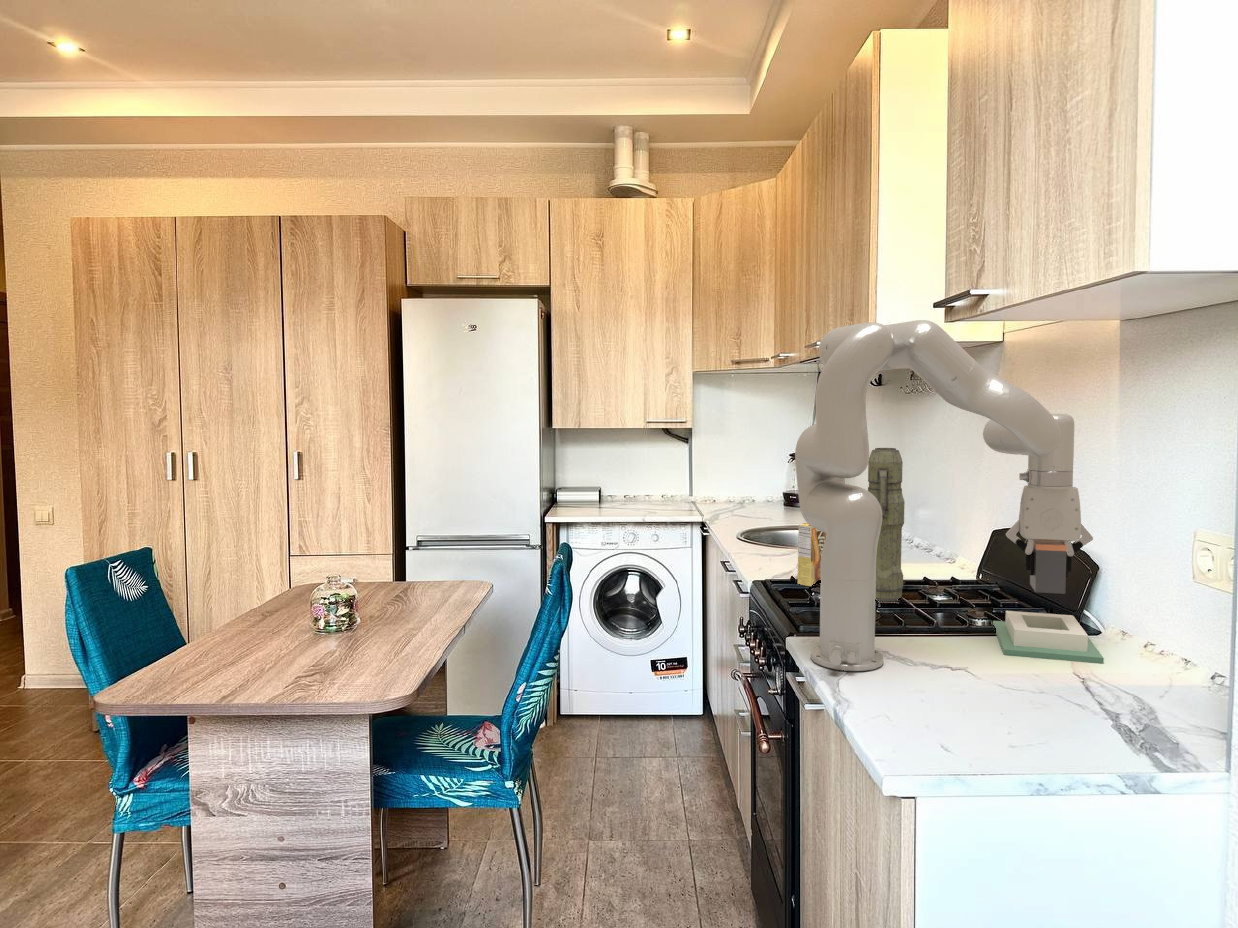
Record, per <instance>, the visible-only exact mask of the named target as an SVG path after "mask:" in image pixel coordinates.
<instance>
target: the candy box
mask: <svg viewBox="0 0 1238 928" xmlns="http://www.w3.org/2000/svg"><path fill="white" fill-rule="evenodd" d="M826 536H827V533H825V532H822V531H820V530H817V529H815V528H813V527H812V526H810V525H809V524H808V523H807V522H804V523H800V524H798V537H797V538H798V540H797V541H798V543H797V550H798V551H797V585H799V584H800V585H801V586H806V587H812V585H813V584H815V583H816V582H817V581H818V580H821V574H820V566H821V555H822V550H823V547H824V543H825V540H826ZM813 586H814V585H813Z"/></svg>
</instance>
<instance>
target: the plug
mask: <svg viewBox="0 0 1238 928" xmlns="http://www.w3.org/2000/svg"><path fill="white" fill-rule="evenodd" d="M1066 552H1067V546H1066V545H1065V544H1064V543H1063V542H1062V541H1040V540H1036V542H1035V545H1034V548H1033V554H1034V556H1035V559H1034V575H1033V576H1032V575H1030V574H1029V585H1030V586H1031V588H1032V589H1033V590H1034V592H1035V593H1045V594H1046V593H1047V594H1062V595H1063V594H1065V595H1066V580H1067V577H1066Z"/></svg>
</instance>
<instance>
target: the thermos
mask: <svg viewBox="0 0 1238 928" xmlns="http://www.w3.org/2000/svg"><path fill="white" fill-rule="evenodd" d="M901 455H902V454H901V453H900V450H898V449H897V448H895V447H875V448H874V449H872V450H871V452H870V454H869V463H868V465H867V467H868V469H867V470H868V471H867V474H868V475H867V482H868V487H867V491H869V492H870V493H871V494H873V495H874V496H875V497H876V499H877V500H878V502H879V504H880V506H881V510H882V525H881V530H880V535H879V539H878V545H877V555H876V598H875V599H877V600H880V601H879V602H885V601H892V602H895V601H894V600H897V599H899V598H901V597H902V598H903V588H904V573H903V570H902V540H903V539H902V533H903V527H904V524H905V499H904V496H903V488H902V483H903V458H902V456H901Z"/></svg>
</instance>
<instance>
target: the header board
mask: <svg viewBox="0 0 1238 928" xmlns="http://www.w3.org/2000/svg"><path fill="white" fill-rule="evenodd" d="M993 625H994V626H995V628H996V633H995V635H996V638H997V640H998V643H999V646H1000V648H1001V650H1002V653H1003V655H1004V656H1013V657H1023V658H1024V657H1026V658H1034V659H1035V658H1037V659H1048V660H1050V659H1051V660H1059V661H1069V662H1070V661H1073V662H1082V663H1092V662H1094V663H1095V664H1104V659H1105V658H1104V657H1103V655H1102V654H1101V652H1100V651H1099V650H1098V648H1097V647H1096V645H1095V644H1094V643H1093V642H1092V640H1091V639H1090V637H1089V635H1088V634H1087V632H1086V630H1085V629H1084V628H1083V627H1082V626H1081V625H1080V623H1079V622H1078V620H1077V619H1076V617H1075V616H1074V615H1073V614H1072V615H1071V614H1056V613H1042V612H1028V611H1016V610H1015V611H1014V610H1005V620H1004V621H1003V620H992V626H993ZM1094 663H1093V664H1094Z"/></svg>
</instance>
